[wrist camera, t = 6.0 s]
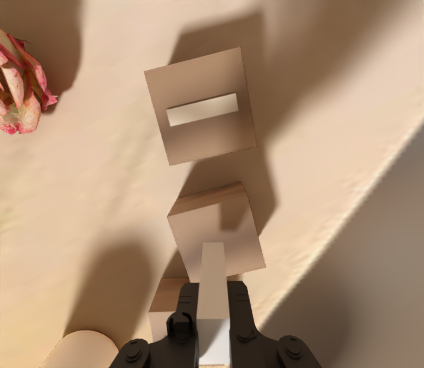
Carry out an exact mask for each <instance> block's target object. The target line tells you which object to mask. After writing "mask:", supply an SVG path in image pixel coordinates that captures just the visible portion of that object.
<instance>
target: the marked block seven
mask: <svg viewBox="0 0 424 368" xmlns="http://www.w3.org/2000/svg"><path fill="white" fill-rule="evenodd" d="M185 283H191V282H190V279H189V277H185V278H161V280H160V283H159V286H158V288H157V291H156V294H155V296H154V299H153V302H152V304H151V307H150V310H149V318H150V324H151V330H152V336H153V342H156V341H159V340H161V339H163V338H164V337H166V336H167V327H166V321H167V319H168V317H169V316H170V315H171V314H172V313H174V312H176V308H177V304H178V298H179V293H180V289H181V288H182V286H183V285H184V284H185ZM199 366H224V364H201V365H199Z"/></svg>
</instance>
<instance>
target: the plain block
mask: <svg viewBox="0 0 424 368" xmlns="http://www.w3.org/2000/svg"><path fill="white" fill-rule="evenodd" d="M167 219H168V222H169V224H170V227H171V230H172V233H173V235H174V238H175V241H176V244H177V246H178V249H179V252H180V254H181V257H182V260H183V263H184V265H185V268H186V271H187V274H188V276H189V279H190V282H191V283H200V274H201V263H202V252H203V243H209V242H223V243H224V255H225V267H226V277H228V276H232V275H236V274H240V273H245V272H249V271H253V270H258V269H262V268H266V265H265V261H264V258H263V254H262V250H261V246H260V242H259V238H258V234H257V231H256V227H255V223H254V219H253V215H252V211H251V207H250V204H249V200H248V196H247V194H246V191H245V189H244V187H243V185H242V183H241V182H237V183H234V184H230V185H226V186H223V187H219V188H215V189H212V190H208V191H204V192H201V193H197V194H193V195H190V196H186V197H182V198H178V199H177V200H176V202H175V203H174V205H173V207H172V209H171V211H170V212H169V214H168V216H167Z"/></svg>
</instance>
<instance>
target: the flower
mask: <svg viewBox="0 0 424 368" xmlns="http://www.w3.org/2000/svg"><path fill="white" fill-rule="evenodd" d="M25 42H26V43H29V42H27V41H22V40H18V39H15V38H13V37H12V36H11V35H10V34H6V33H5V32H4V31H2V30H1V29H0V129H1V130H3V131H5V132H7V133H9V134H11V135H12V134H14V133H15V132H16V131H17V130H18V131H19V134H24V133H29V132H33V131H35V130H36V128H37V125H38V122H39V119H40V115H41V107H40V104H39V102H38V101H37V99H36V98H35V96H34V92H33V90H34V91H35V93H36V94H37V95H38V96H39V97H40V98H41V104H42V108H43V110H44V111H45V109H48V107H47V106H48V105H50V104H54V103H56V102H58V101H57V100H56V99H55V97H58V96H52V94H51V92H50V91H49V90H48V89H47V88H46V87H47V79H46V76H45V73H44V71H43V69H42V68H41V64H40V63H39V61H37V60H36V59H34V58H33V57H32V56H31V55H29V54H28V53H27V52H25V49H24V43H25ZM29 44H31V43H29ZM32 89H33V90H32ZM32 122H33V123H32ZM31 128H32V129H31Z"/></svg>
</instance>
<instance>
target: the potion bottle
mask: <svg viewBox="0 0 424 368" xmlns="http://www.w3.org/2000/svg"><path fill="white" fill-rule="evenodd" d="M118 353H119V352H118V349H117V347H116V346H115V344H114V343H113V341H112V340H110V339H109V338H108V337H107V336H105V335H103V334H101V333H99V332H96V331H90V330H82V331H76V332H73V333H70V334H68V335H66V336H65V337H64V338H63V339H61V340H60V341H59V342H58V344H57V345H56V346H55V348H54V349H53V350H52V352H51V353H50V354H49V356H48V357H47V358H46V360H45V361H44V363H43V364H42V365H41V367H40V368H109V366H110V365H111V363H112V362H113V360H114V359H115V357H116V356H117V354H118Z"/></svg>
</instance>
